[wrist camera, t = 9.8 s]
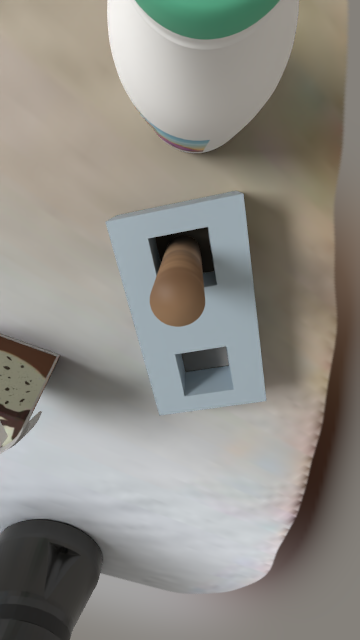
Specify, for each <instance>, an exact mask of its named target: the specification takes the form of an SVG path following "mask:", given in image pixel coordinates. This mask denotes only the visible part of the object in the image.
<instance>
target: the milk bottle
mask: <svg viewBox="0 0 360 640" xmlns="http://www.w3.org/2000/svg"><path fill="white" fill-rule="evenodd" d="M298 9H299V0H108V7H107V16H108V33H109V40H110V46H111V51H112V55H113V59H114V62H115V66H116V69H117V72H118V75H119V78H120V80H121V82H122V84H123V87H124V89H125V91H126V92H127V94H128V96H129V97H130V99H131V101H132V102H133V104H134V106H135V107H136V109H137V110H138V112H139V113H140V114H141V116H142V117H143V118H144V119H145V121H146V122H147V123H148V124H149V126H150V127H151V128H152V129H153V130H154V131H155V132H156V134H157V135H158V136H159V137H160V138H161V139H162V140H163V141H165V142H166V143H167V144H169V145H170V146H172V147H173V148H175V149H178V150H180V151H183V152H187V153H204V152H208V151H211V150H214V149H216V148H218V147H220V146H222V145H223V144H225V143H226V142H228V141H229V140H230V139H231V138H232V137H234V136H235V135H236V134H237V133H238V132H239V131H240V130H242V129H243V128H244V127H245V126H246V125H247V124H248V123H249V122H250V121H251V120H252V119H253V118H254V117H255V116H256V115H257V113H258V112H259V111H260V110H261V108H262V107H263V106H264V105H265V103H266V102H267V101H268V99H269V98H270V97H271V95H272V94H273V92H274V90H275V89H276V87H277V85H278V83H279V81H280V79H281V77H282V75H283V72H284V70H285V68H286V65H287V62H288V60H289V57H290V54H291V50H292V47H293V43H294V38H295V33H296V27H297V20H298Z"/></svg>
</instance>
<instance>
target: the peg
mask: <svg viewBox="0 0 360 640" xmlns="http://www.w3.org/2000/svg"><path fill="white" fill-rule="evenodd" d="M150 307H151V310H152V312H153V313H154V315H155V316H156V317H157V318H158V319H159V320H160V321H161V322H163V323H164V324H167V325H170V326H174V327H182V326H186V325H189V324H191V323H193V322H195V321H196V320H197V319H198V318H199V317H200V316H201V314H202V312H203V310H204V308H205V291H204V281H203V271H202V261H201V251H200V246H199V244H198V243H197V241H196V240H195V239H194V238H192V237H190V236H187V235H179V236H176V237H174V238H173V239H172V240H171V241H170V242H169V244H168V246H167V248H166V251H165V254H164V257H163V259H162V262H161V265H160V268H159V271H158V274H157V276H156V279H155V282H154V285H153V288H152V290H151V294H150Z"/></svg>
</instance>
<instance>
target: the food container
mask: <svg viewBox="0 0 360 640" xmlns="http://www.w3.org/2000/svg"><path fill="white" fill-rule="evenodd" d="M59 356H60V355H59V354H56V353H53V352H50V351H48V350H45V349H42V348H39V347H36V346H34V345H31V344H28V343H25V342H22V341H20V340H17V339H14V338H11V337H8V336H6V335H3V334H0V422H1V424H2V425H3V427H4V429H5V431H6V433H7V435H8V437H7V439H6V440H5V441H4V443H3V444H2V446H1V447H0V454H1V453H2V452H4V451H6V450H7V449H9V448H11V447H12V446H14V445H15V444H17V443H18V442H19V441H20V440H21V439H22V438H23V437H24V436H25V435H26V434H27V433H28V432H29V431H30V430H31V429H32V428H33V427H34V425H35V424H36V423H37V421H38V420H39V417H40V415H41V413H42V412H41V411H40V412H39V413H38V414H37V415H35V416H34V417H33V418H32V419H31V420H30V421H29V419H30V417H31V415H32V413H33V411H34V409H35V407H36V405H37V403H38V400H39V398H40V396H41V394H42V392H43V390H44V388H45V386H46V384H47V382H48V380H49V378H50V376H51V374H52V372H53V370H54V367H55V365H56V363H57V361H58V359H59Z"/></svg>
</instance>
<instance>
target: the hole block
mask: <svg viewBox="0 0 360 640" xmlns="http://www.w3.org/2000/svg"><path fill="white" fill-rule="evenodd" d="M106 225H107V229H108V232H109V236H110V240H111V243H112V247H113V250H114V254H115V257H116V261H117V265H118V268H119V272H120V275H121V279H122V283H123V286H124V290H125V293H126V297H127V301H128V304H129V308H130V311H131V315H132V318H133V322H134V326H135V329H136V333H137V336H138V340H139V344H140V347H141V351H142V354H143V358H144V362H145V365H146V369H147V372H148V376H149V379H150V383H151V387H152V390H153V394H154V397H155V401H156V405H157V408H158V412H159V415H167V414H174V413H181V412H189V411H196V410H203V409H211V408H218V407H225V406H233V405H240V404H247V403H255V402H262V401H266V393H265V384H264V375H263V366H262V357H261V348H260V339H259V330H258V321H257V312H256V303H255V294H254V285H253V276H252V267H251V258H250V248H249V239H248V230H247V221H246V212H245V203H244V194H243V193H241V192H238V191H232V192H227V193H223V194H218V195H213V196H208V197H203V198H198V199H193V200H189V201H184V202H179V203H174V204H169V205H164V206H159V207H155V208H150V209H145V210H140V211H135V212H130V213H125V214H121V215H117V216H115V217H113V218H111V219H110V220H108V221H106ZM204 227H207V230H208V236H209V242H210V249H211V255H212V261H213V267H214V271H212V272H206V273H203V281H204V291H205V308H204V310H203V312H202V314H201V316H200V317H199V318H198V319H197V320H196V321H195V322H193V323H191V324H189V325H186V326H182V327H174V326H170V325H167V324H164V323H163V322H161V321H160V320H159V319H158V318H157V317H156V316H155V315H154V313H153V312H152V310H151V307H150V294H151V290H152V288H153V285H154V282H155V279H156V276H157V274H158V271H159V268H160V265H161V261H160V257H159V252H158V248H157V243H156V239H155V237H158V236H164V235H169V234H174V233H179V232H184V231H189V230H194V229H199V228H204ZM219 347H226V349H227V356H228V362H229V366H224V367H217V368H210V369H204V370H197V371H190V372H185V368H184V364H183V359H182V355H181V353H187V352H194V351H200V350H206V349H213V348H219Z"/></svg>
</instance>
